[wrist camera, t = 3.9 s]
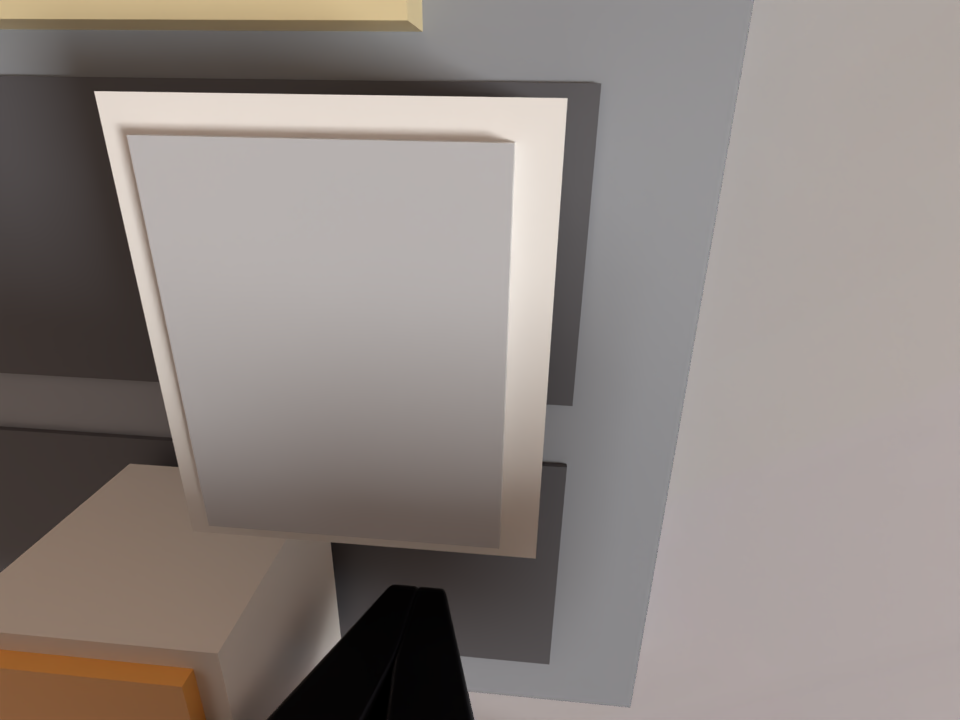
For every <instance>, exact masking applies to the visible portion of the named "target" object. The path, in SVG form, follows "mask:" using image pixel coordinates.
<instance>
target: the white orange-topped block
mask: <svg viewBox="0 0 960 720" xmlns="http://www.w3.org/2000/svg"><path fill="white" fill-rule="evenodd" d="M340 639H341V634H340V624H339V615H338V606H337V597H336V588H335V578H334V569H333V560H332V551H331V542H322V541H309V540H297V539H284V538H272V537H259V536H247V535H234V534H222V533H209V532H197V531H193V529H192V524H191V520H190V515H189V511H188V507H187V502H186V498H185V493H184V489H183V484H182V480H181V475H180V471H179V467H170V466H155V465H141V464H129V465H127V466H126V467H125V468H124V469H123V470H122V471H120V472H119V473H118V474H117V475H116V476H114V477H113V478H112V479H111V480H110V481H109V482H107V483H106V484H105V485H104V486H103V487H101V488H100V489H99V490H98V491H97V492H96V493H94V494H93V495H92V496H91V497H90V498H88V499H87V500H86V501H85V502H84V503H82V504H81V505H80V506H79V507H78V508H77V509H75V510H74V511H73V512H72V513H71V514H69V515H68V516H67V517H66V518H65V519H64V520H62V521H61V522H60V523H59V524H58V525H56V526H55V527H54V528H53V529H52V530H51V531H49V532H48V533H47V534H46V535H45V536H43V537H42V538H41V539H40V540H39V541H37V542H36V543H35V544H34V545H33V546H32V547H30V548H29V549H28V550H27V551H26V552H24V553H23V554H22V555H21V556H20V557H19V558H17V559H16V560H15V561H14V562H13V563H11V564H10V565H9V566H8V567H7V568H5V569H4V570H3V571H2V572H1V573H0V720H266V719H267V718H268V717H269V716H270V715H271V714H272V713H273V712H274V711H275V710H276V709H277V708H278V706H279V705H280V704H281V703H282V702H283V701H284V700H285V699H286V698H287V697H288V696H289V694H290V693H291V692H292V691H293V690H294V689H295V688H296V687H297V686H298V685H299V684H300V683H301V681H302V680H303V679H304V678H305V677H306V676H307V675H308V674H309V673H310V672H311V671H312V670H313V668H314V667H315V666H316V665H317V664H318V663H319V662H320V661H321V660H322V659H323V658H324V657H325V655H326V654H327V653H328V652H329V651H330V650H331V649H332V648H333V647H334V646H335V645H336V644H337V642H338V641H339V640H340Z"/></svg>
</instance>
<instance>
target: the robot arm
mask: <svg viewBox="0 0 960 720" xmlns="http://www.w3.org/2000/svg"><path fill="white" fill-rule="evenodd" d="M266 720H474V717H473V712H472V708H471V703H470V699H469V694H468V690H467V685H466V680H465V676H464V671H463V667H462V662H461V658H460V653H459V649H458V644H457V640H456V635H455V631H454V626H453V622H452V617H451V613H450V608H449V604H448V599H447V595H446V592H445V590H444V589H441V588H431V587H419V588H417V587H416V586H410V585H399V584H393V585H391V586H389V587H388V588H387V589H386V590H385V591H384V593H383V594H382V595H381V596H380V597H379V598H378V599H377V600H376V601H375V602H374V603H373V604H372V606H371V607H370V608H369V609H368V610H367V611H366V612H365V613H364V614H363V615H362V616H361V617H360V619H359V620H358V621H357V622H356V623H355V624H354V625H353V626H352V627H351V628H350V629H349V631H348V632H347V633H346V634H345V635H344V636H343V637H342V638H341V639H340V640H339V641H338V642H337V644H336V645H335V646H334V647H333V648H332V649H331V650H330V651H329V652H328V653H327V654H326V655H325V657H324V658H323V659H322V660H321V661H320V662H319V663H318V664H317V665H316V666H315V667H314V668H313V670H312V671H311V672H310V673H309V674H308V675H307V676H306V677H305V678H304V679H303V680H302V681H301V683H300V684H299V685H298V686H297V687H296V688H295V689H294V690H293V691H292V692H291V693H290V694H289V696H288V697H287V698H286V699H285V700H284V701H283V702H282V703H281V704H280V705H279V706H278V708H277V709H276V710H275V711H274V712H273V713H272V714H271V715H270V716H269V717H268V718H267V719H266Z"/></svg>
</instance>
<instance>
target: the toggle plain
mask: <svg viewBox="0 0 960 720" xmlns="http://www.w3.org/2000/svg"><path fill="white" fill-rule="evenodd" d="M94 93H95V98H96V102H97V107H98V111H99V115H100V120H101V124H102V129H103V133H104V138H105V142H106V147H107V151H108V155H109V160H110V164H111V169H112V173H113V178H114V182H115V187H116V191H117V195H118V200H119V204H120V209H121V213H122V218H123V222H124V227H125V231H126V235H127V240H128V244H129V249H130V253H131V258H132V262H133V267H134V271H135V275H136V280H137V284H138V289H139V293H140V298H141V302H142V307H143V311H144V315H145V320H146V324H147V329H148V333H149V338H150V342H151V347H152V351H153V355H154V360H155V364H156V369H157V373H158V378H159V382H160V387H161V391H162V395H163V400H164V404H165V409H166V413H167V418H168V422H169V427H170V431H171V435H172V440H173V444H174V449H175V453H176V458H177V462H178V467H179V471H180V475H181V480H182V484H183V489H184V493H185V498H186V502H187V507H188V511H189V515H190V520H191V524H192V529H193V531H197V532H209V533H222V534H234V535H247V536H259V537H272V538H284V539H297V540H309V541H322V542H334V543H347V544H359V545H372V546H384V547H397V548H409V549H422V550H435V551H447V552H460V553H472V554H485V555H497V556H510V557H522V558H535V559H536V547H537V533H538V518H539V504H540V489H541V475H542V460H543V446H544V432H545V417H546V403H547V388H548V374H549V359H550V345H551V331H552V316H553V302H554V287H555V273H556V259H557V244H558V230H559V215H560V201H561V186H562V172H563V158H564V143H565V129H566V114H567V100H568V98H523V97H455V96H387V95H319V94H251V93H183V92H115V91H94Z"/></svg>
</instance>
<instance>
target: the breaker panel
mask: <svg viewBox="0 0 960 720" xmlns="http://www.w3.org/2000/svg"><path fill="white" fill-rule="evenodd" d="M753 3H754V0H0V573H1V572H2V571H3V570H4V569H5V568H7V567H8V566H9V565H10V564H11V563H13V562H14V561H15V560H16V559H17V558H19V557H20V556H21V555H22V554H23V553H24V552H26V551H27V550H28V549H29V548H30V547H32V546H33V545H34V544H35V543H36V542H37V541H39V540H40V539H41V538H42V537H43V536H45V535H46V534H47V533H48V532H49V531H51V530H52V529H53V528H54V527H55V526H56V525H58V524H59V523H60V522H61V521H62V520H64V519H65V518H66V517H67V516H68V515H69V514H71V513H72V512H73V511H74V510H75V509H77V508H78V507H79V506H80V505H81V504H82V503H84V502H85V501H86V500H87V499H88V498H90V497H91V496H92V495H93V494H94V493H96V492H97V491H98V490H99V489H100V488H101V487H103V486H104V485H105V484H106V483H107V482H109V481H110V480H111V479H112V478H113V477H114V476H116V475H117V474H118V473H119V472H120V471H122V470H123V469H124V468H125V467H126V466H127V465H129V464H141V465H155V466H170V467H178V462H177V458H176V453H175V449H174V444H173V440H172V435H171V431H170V427H169V422H168V418H167V413H166V409H165V404H164V400H163V395H162V391H161V387H160V382H159V378H158V373H157V369H156V364H155V360H154V355H153V351H152V347H151V342H150V338H149V333H148V329H147V324H146V320H145V315H144V311H143V307H142V302H141V298H140V293H139V289H138V284H137V280H136V275H135V271H134V267H133V262H132V258H131V253H130V249H129V244H128V240H127V235H126V231H125V227H124V222H123V218H122V213H121V209H120V204H119V200H118V195H117V191H116V187H115V182H114V178H113V173H112V169H111V164H110V160H109V155H108V151H107V147H106V142H105V138H104V133H103V129H102V124H101V120H100V115H99V111H98V107H97V102H96V98H95V93H94V91H115V92H183V93H251V94H319V95H387V96H455V97H523V98H568V100H567V114H566V129H565V143H564V158H563V172H562V186H561V201H560V215H559V230H558V244H557V259H556V273H555V287H554V302H553V316H552V331H551V345H550V359H549V374H548V388H547V403H546V417H545V432H544V446H543V460H542V475H541V489H540V504H539V518H538V533H537V547H536V559H535V558H522V557H510V556H497V555H485V554H472V553H460V552H447V551H435V550H422V549H409V548H397V547H384V546H372V545H359V544H347V543H334V542H331V551H332V560H333V569H334V578H335V588H336V597H337V606H338V615H339V624H340V634H341V638H342V637H343V636H344V635H345V634H346V633H347V632H348V631H349V629H350V628H351V627H352V626H353V625H354V624H355V623H356V622H357V621H358V620H359V619H360V617H361V616H362V615H363V614H364V613H365V612H366V611H367V610H368V609H369V608H370V607H371V606H372V604H373V603H374V602H375V601H376V600H377V599H378V598H379V597H380V596H381V595H382V594H383V593H384V591H385V590H386V589H387V588H388V587H389V586H391V585H393V584H399V585H410V586H416V587H417V588H419V587H431V588H441V589H444V590H445V592H446V595H447V599H448V604H449V608H450V613H451V617H452V622H453V626H454V631H455V635H456V640H457V644H458V649H459V653H460V658H461V662H462V667H463V671H464V676H465V680H466V685H467V690H468V691H469V692H479V693H489V694H499V695H509V696H519V697H529V698H539V699H549V700H559V701H569V702H579V703H589V704H599V705H609V706H619V707H629V708H630V706H631V701H632V695H633V689H634V684H635V678H636V672H637V666H638V661H639V655H640V649H641V644H642V638H643V632H644V626H645V621H646V615H647V609H648V604H649V598H650V592H651V586H652V581H653V575H654V569H655V564H656V558H657V552H658V546H659V541H660V535H661V529H662V524H663V518H664V512H665V506H666V501H667V495H668V489H669V483H670V478H671V472H672V466H673V461H674V455H675V449H676V443H677V438H678V432H679V426H680V421H681V415H682V409H683V403H684V398H685V392H686V386H687V381H688V375H689V369H690V363H691V358H692V352H693V346H694V341H695V335H696V329H697V323H698V318H699V312H700V306H701V301H702V295H703V289H704V283H705V278H706V272H707V266H708V260H709V255H710V249H711V243H712V238H713V232H714V226H715V220H716V215H717V209H718V203H719V198H720V192H721V186H722V180H723V175H724V169H725V163H726V158H727V152H728V146H729V140H730V135H731V129H732V123H733V118H734V112H735V106H736V100H737V95H738V89H739V83H740V78H741V72H742V66H743V60H744V55H745V49H746V43H747V37H748V32H749V26H750V20H751V15H752V9H753Z"/></svg>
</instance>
